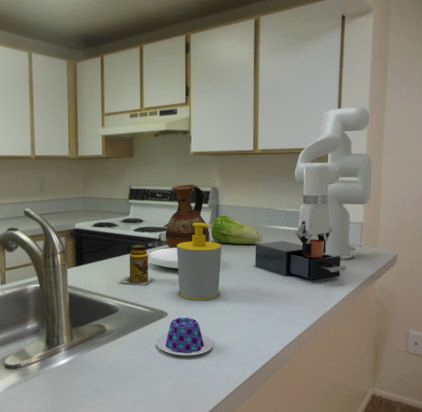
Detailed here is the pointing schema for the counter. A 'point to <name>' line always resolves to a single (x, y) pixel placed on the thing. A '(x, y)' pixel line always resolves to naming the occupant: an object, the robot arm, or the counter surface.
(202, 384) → the counter surface
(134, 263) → the condiment
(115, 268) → the counter surface
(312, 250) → the cup
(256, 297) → the counter surface
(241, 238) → the lettuce
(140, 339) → the counter surface
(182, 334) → the pudding
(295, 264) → the drawer
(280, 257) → the dark gray drawer box
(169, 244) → the ceramic pitcher
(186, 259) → the soap bottle
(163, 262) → the plate
